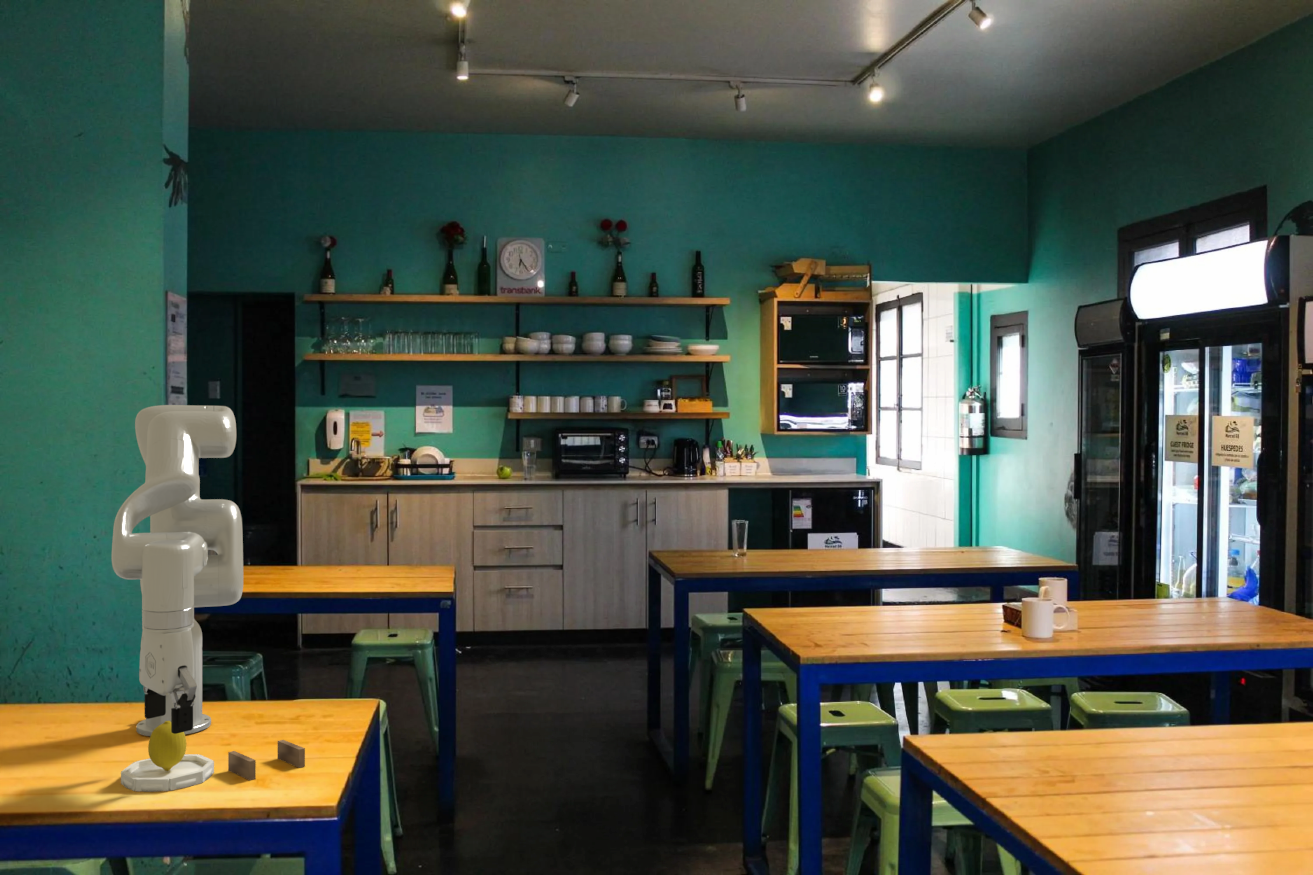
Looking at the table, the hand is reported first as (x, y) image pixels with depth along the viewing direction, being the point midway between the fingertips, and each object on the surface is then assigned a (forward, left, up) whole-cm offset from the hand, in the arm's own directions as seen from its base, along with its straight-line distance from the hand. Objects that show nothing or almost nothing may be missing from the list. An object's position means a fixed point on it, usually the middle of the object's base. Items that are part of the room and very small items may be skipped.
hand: (168, 723), depth 175 cm
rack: (+8, +12, -8) cm, 17 cm away
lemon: (+1, -1, -7) cm, 7 cm away
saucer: (+1, -1, -8) cm, 8 cm away
